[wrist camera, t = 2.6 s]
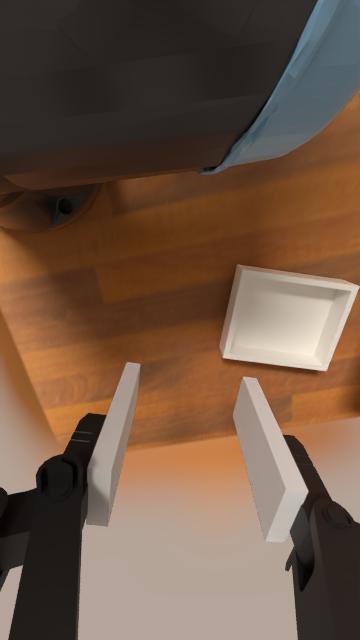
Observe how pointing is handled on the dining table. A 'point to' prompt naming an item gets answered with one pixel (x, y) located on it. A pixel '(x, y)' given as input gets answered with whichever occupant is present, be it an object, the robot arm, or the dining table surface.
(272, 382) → the dining table surface
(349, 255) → the dining table surface
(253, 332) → the tray
